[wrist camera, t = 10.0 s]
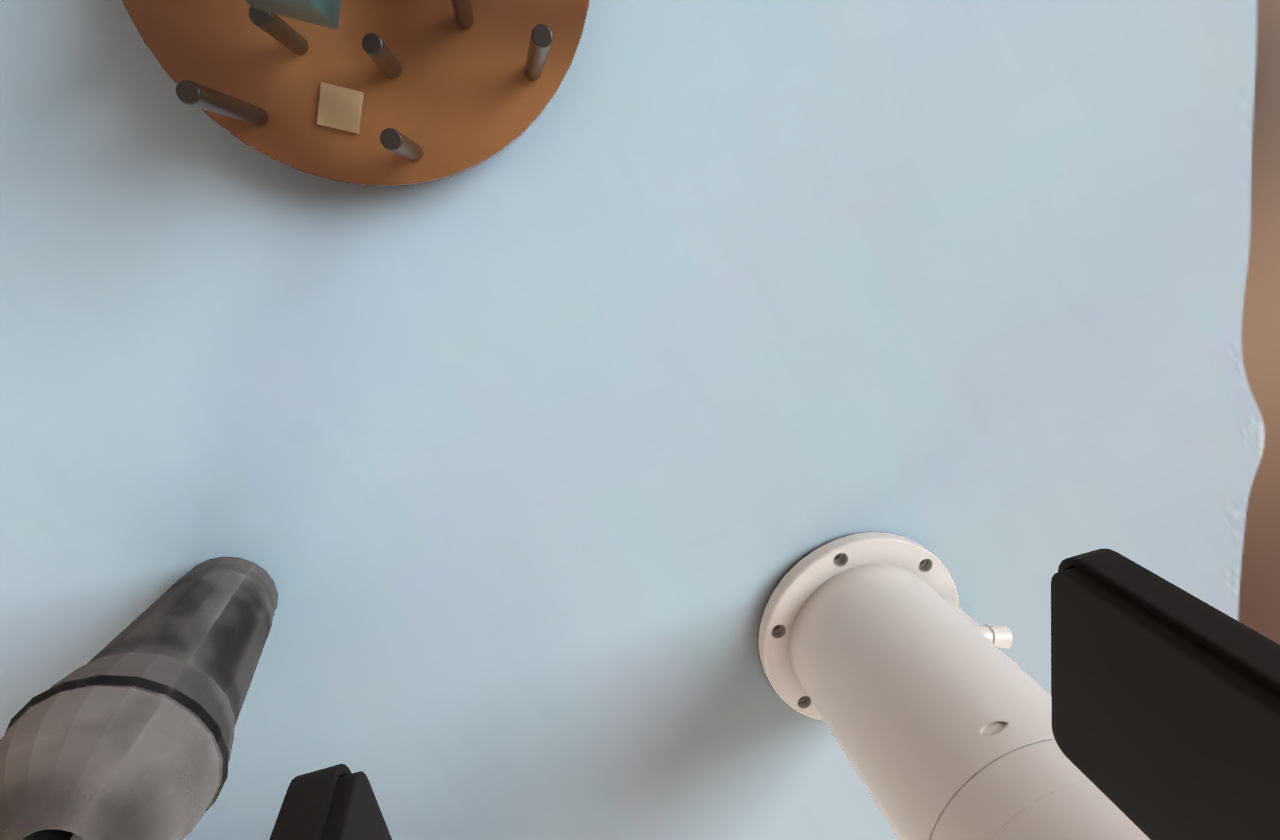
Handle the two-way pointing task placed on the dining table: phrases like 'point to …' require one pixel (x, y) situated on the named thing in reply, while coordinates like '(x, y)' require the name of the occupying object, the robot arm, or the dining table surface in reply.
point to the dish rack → (367, 77)
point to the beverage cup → (141, 718)
